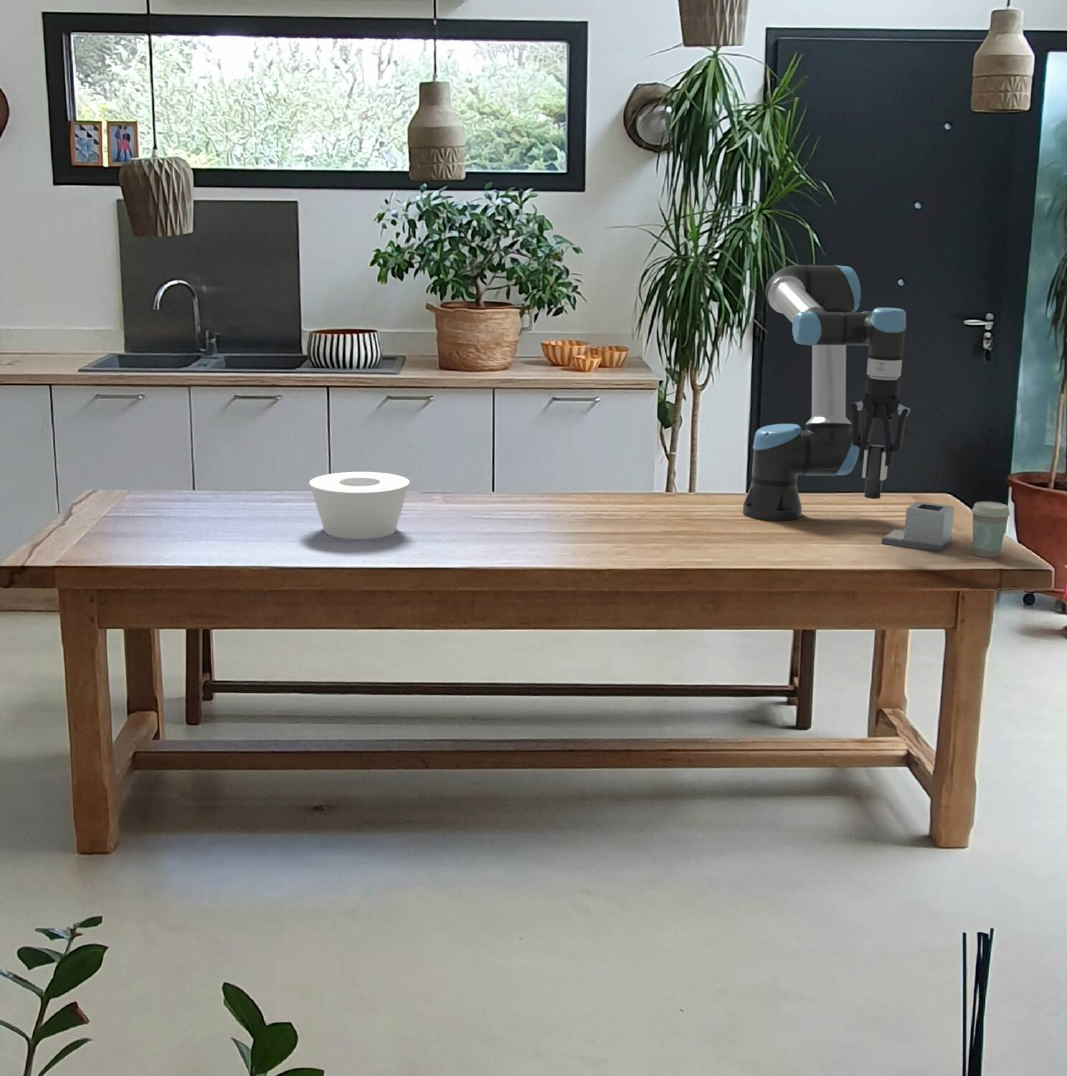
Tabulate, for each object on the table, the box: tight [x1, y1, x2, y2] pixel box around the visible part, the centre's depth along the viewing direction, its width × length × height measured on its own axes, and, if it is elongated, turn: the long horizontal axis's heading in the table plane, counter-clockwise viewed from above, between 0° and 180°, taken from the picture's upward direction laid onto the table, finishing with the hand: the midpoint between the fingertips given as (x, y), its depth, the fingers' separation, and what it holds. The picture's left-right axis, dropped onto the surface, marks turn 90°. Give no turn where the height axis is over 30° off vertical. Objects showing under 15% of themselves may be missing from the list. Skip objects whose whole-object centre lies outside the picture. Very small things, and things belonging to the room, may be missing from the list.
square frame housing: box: [881, 501, 955, 553], centre depth 325 cm, size 14×11×9 cm
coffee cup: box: [970, 501, 1011, 559], centre depth 315 cm, size 8×9×12 cm
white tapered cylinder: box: [308, 471, 411, 540], centre depth 325 cm, size 24×24×12 cm
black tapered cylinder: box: [864, 444, 886, 500], centre depth 311 cm, size 4×4×12 cm
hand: (874, 477), depth 312 cm, fingers closed on black tapered cylinder, 3 cm apart
